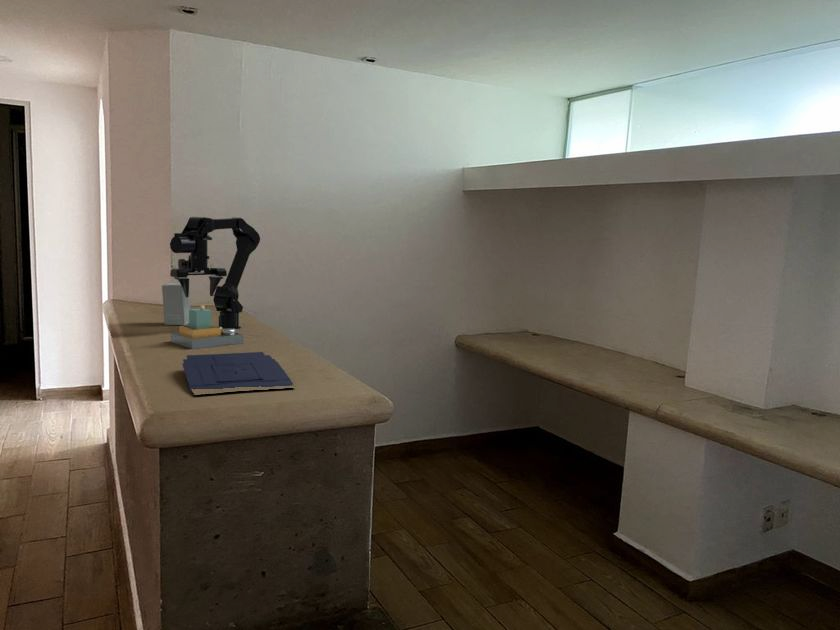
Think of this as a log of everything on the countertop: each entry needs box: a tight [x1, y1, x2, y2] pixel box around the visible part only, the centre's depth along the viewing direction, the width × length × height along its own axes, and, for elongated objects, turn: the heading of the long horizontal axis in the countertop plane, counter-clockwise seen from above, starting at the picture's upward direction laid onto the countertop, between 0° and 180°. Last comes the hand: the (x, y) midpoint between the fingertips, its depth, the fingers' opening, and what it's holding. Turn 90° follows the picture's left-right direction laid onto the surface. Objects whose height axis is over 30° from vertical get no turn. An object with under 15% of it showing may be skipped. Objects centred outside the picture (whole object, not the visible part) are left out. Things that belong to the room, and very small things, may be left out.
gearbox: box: [170, 324, 244, 350], centre depth 215 cm, size 18×15×6 cm
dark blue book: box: [182, 351, 294, 391], centre depth 167 cm, size 24×30×4 cm
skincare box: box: [161, 282, 192, 326], centre depth 249 cm, size 8×7×16 cm
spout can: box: [188, 305, 212, 330], centre depth 213 cm, size 5×5×10 cm
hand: (199, 296), depth 232 cm, fingers open, 9 cm apart
